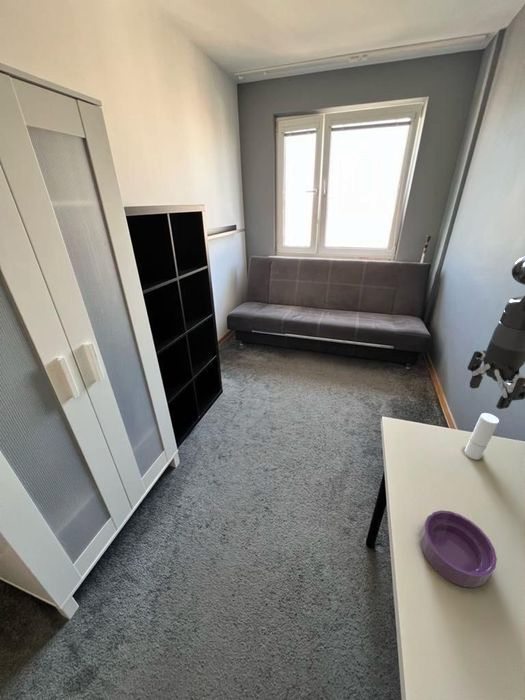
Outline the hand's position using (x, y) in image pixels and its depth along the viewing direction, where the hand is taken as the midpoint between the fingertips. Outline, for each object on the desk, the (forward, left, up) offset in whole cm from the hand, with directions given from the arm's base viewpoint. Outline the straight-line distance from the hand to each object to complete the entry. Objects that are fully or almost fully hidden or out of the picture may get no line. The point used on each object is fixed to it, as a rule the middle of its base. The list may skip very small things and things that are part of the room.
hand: (486, 397), depth 73 cm
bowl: (+29, +5, -25) cm, 39 cm away
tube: (-6, +3, -25) cm, 26 cm away
